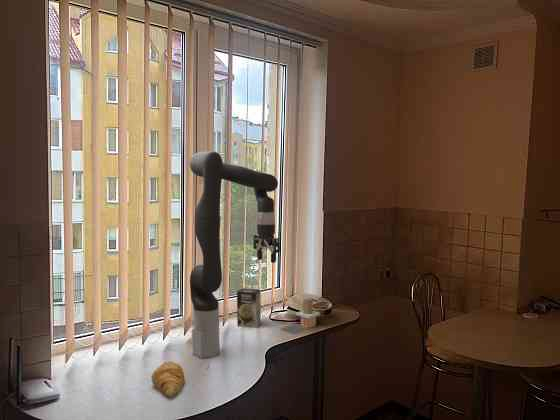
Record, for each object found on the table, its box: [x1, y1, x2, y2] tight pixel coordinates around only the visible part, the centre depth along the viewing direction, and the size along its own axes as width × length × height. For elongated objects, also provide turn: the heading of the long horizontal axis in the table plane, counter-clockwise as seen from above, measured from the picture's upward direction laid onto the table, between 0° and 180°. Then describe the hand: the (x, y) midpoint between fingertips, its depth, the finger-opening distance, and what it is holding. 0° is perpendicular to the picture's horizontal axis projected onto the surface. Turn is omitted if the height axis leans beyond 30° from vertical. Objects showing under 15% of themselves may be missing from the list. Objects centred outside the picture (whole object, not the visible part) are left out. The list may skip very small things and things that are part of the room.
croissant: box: [150, 361, 186, 397], centre depth 151 cm, size 21×10×8 cm, turn 18°
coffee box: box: [236, 287, 262, 329], centre depth 205 cm, size 9×6×16 cm
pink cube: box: [300, 316, 317, 328], centre depth 205 cm, size 6×6×5 cm
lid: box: [295, 298, 321, 319], centre depth 204 cm, size 8×8×7 cm
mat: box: [280, 324, 309, 335], centre depth 199 cm, size 9×9×1 cm
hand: (266, 261), depth 197 cm, fingers open, 8 cm apart
